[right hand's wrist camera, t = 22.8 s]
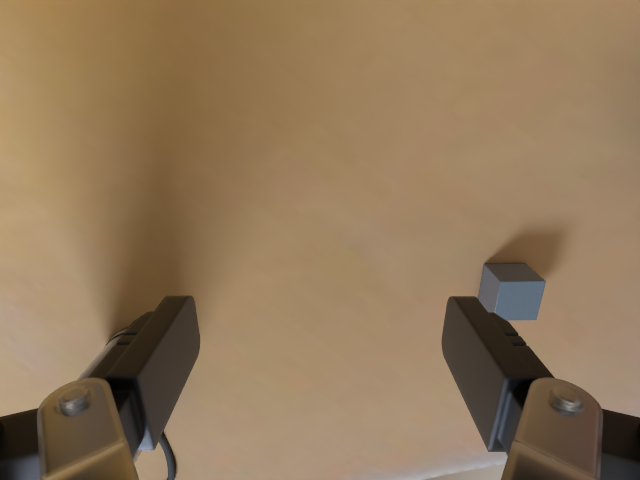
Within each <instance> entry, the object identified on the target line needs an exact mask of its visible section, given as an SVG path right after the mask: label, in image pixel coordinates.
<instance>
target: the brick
mask: <svg viewBox="0 0 640 480" xmlns="http://www.w3.org/2000/svg"><path fill="white" fill-rule="evenodd" d="M545 283H546V281H545V280H544V279H543V278H542V277H540V276H539V275H538V274H537V273H536V272H535V271H533V270H532V269H531V268H530V267H529V266H527V265H526V264H525V263H516V264H484V267H483V273H482V279H481V285H480V291H479V297H478V300H479V301H480V302H481V304H482V305H483V306H484V308H485V309H486V310H487V311H488V312H494V313H496V314H497V315H499V316H500V317H502V318H503V319H505V320H537V316H538V312H539V307H540V303H541V299H542V295H543V291H544V287H545Z"/></svg>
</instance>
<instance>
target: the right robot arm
mask: <svg viewBox="0 0 640 480" xmlns="http://www.w3.org/2000/svg"><path fill="white" fill-rule="evenodd" d="M199 349H200V334H199V327H198V321H197V314H196V307H195V301H194V298H193V297H192V296H166V297H165V298H164V299H163V301H162V302H161V303H160V305H159V306H158V307H157V308H156V310H155V311H154V312H147V313H146V314H144V315H143V316H141V317H140V318H138V319H137V320H135V321H133V323H132V324H131V325H130V326H129V328H126V329H123V330H121V331H119V332H117V333H116V334H115V335H114V336H113V337H112V338H111V339H110V340H109V342H108V343H107V344H106V346H105V348H104V349H103V350H102V351H101V352H100V354H99V355H98V356H97V357H96V358H95V359H94V360H93V362H92V363H91V364H90V365H89V366H88V367H87V369H86V370H85V371H84V372H83V373H82V374H81V376H80V377H79V378H78V379H77V380H76V381H73V382H71V383H68V384H66V385H64V386H62V387H60V388H58V389H57V390H55V391H54V392H53V393H51V394H50V395H49V396H48V397H47V398H46V399H45V400H44V401H43V402H42V403H41V405H40V406H39V408H37V409H33V410H29V411H24V412H20V413H16V414H11V415H7V416H3V417H0V480H139V478H138V475H137V471H136V468H135V463H136V461H137V459H138V457H139V455H140V453H141V451H142V450H155V448H156V445H157V443H158V441H159V443H160V444H161V446H162V448H163V450H164V453H165V456H166V460H167V465H168V479H167V480H174V476H175V465H174V459H173V454H172V451H171V448H170V446H169V444H168V442H167V440H166V438H165V437H164V435H163V434H162V433H163V430H164V428H165V426H166V424H167V422H168V420H169V417H170V415H171V413H172V411H173V409H174V407H175V405H176V402H177V400H178V398H179V396H180V394H181V392H182V389H183V387H184V385H185V383H186V381H187V379H188V376H189V374H190V372H191V370H192V368H193V366H194V364H195V361H196V359H197V357H198V354H199ZM442 351H443V355H444V358H445V360H446V362H447V365H448V367H449V369H450V371H451V373H452V375H453V377H454V379H455V382H456V384H457V386H458V388H459V390H460V392H461V394H462V396H463V399H464V401H465V403H466V405H467V407H468V409H469V411H470V414H471V416H472V418H473V420H474V422H475V424H476V426H477V428H478V431H479V433H480V435H481V437H482V439H483V441H484V443H485V445H486V448H487V450H488V452H506V453H507V455H508V458H507V461H506V465H505V468H504V471H503V475H502V478H501V480H640V418H639V417H635V416H631V415H626V414H622V413H618V412H613V411H609V410H605V409H602V408H601V406H600V405H599V403H598V402H597V401H596V400H595V399H594V398H593V397H592V396H591V395H590V394H589V393H587V392H586V391H585V390H583V389H582V388H580V387H578V386H576V385H574V384H572V383H569V382H567V381H564V380H560V379H556V378H554V376H553V375H552V374H551V373H550V372H549V370H548V369H547V368H546V367H545V366H544V364H543V363H542V362H541V361H540V359H539V358H538V357H537V356H536V355H535V353H534V352H533V351H532V350H531V349H530V347H529V346H526V342H525V341H524V340H523V339H522V338H521V336H518V333H517V332H516V330H515V329H514V328H513V327H512V325H511V324H510V323H509V322H508V321H506V320H505V319H503V318H502V317H500V316H499V315H497V314H496V313H494V312H488V311H487V310H486V309H485V308H484V306H483V305H482V304H481V302H480V301H479V300H478V299H477V297H474V296H451V297H449V299H448V302H447V307H446V314H445V320H444V327H443V334H442Z"/></svg>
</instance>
